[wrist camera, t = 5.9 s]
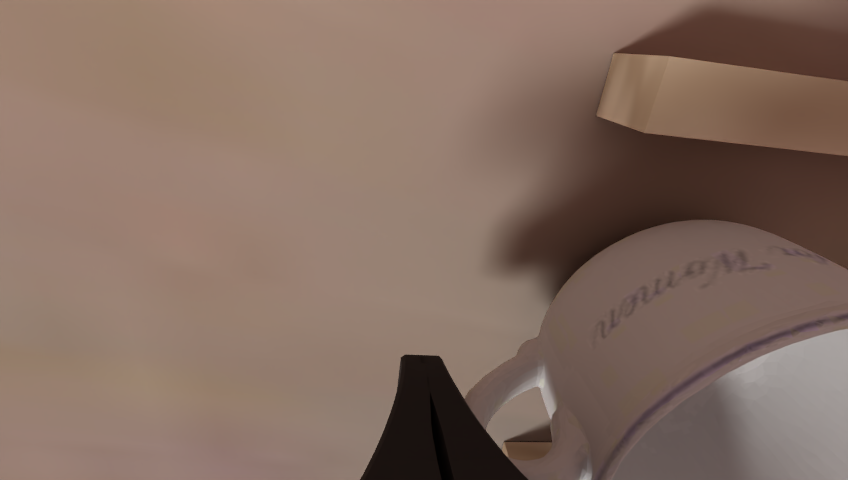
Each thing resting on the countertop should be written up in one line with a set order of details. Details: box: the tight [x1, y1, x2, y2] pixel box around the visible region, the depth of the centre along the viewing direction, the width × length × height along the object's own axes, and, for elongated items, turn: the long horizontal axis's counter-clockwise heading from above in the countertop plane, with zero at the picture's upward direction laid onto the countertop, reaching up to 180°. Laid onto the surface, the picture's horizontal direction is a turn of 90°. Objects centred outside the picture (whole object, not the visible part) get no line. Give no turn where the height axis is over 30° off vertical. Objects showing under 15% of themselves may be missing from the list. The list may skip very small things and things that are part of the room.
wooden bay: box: [502, 53, 848, 461], centre depth 18 cm, size 20×17×3 cm
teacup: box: [464, 220, 848, 480], centre depth 15 cm, size 14×11×8 cm
